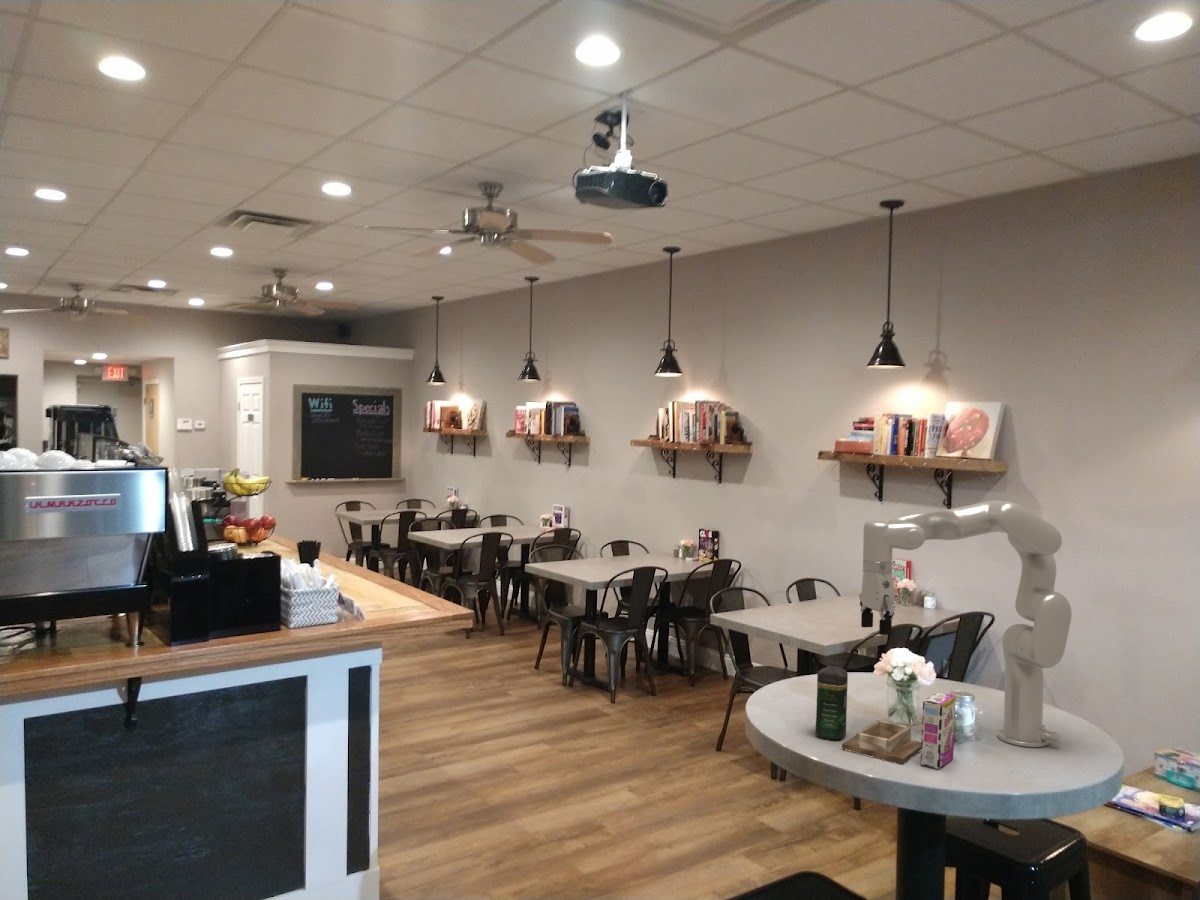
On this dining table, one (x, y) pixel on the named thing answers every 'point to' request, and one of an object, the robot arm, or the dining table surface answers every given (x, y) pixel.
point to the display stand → (884, 742)
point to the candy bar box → (938, 730)
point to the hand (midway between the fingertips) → (875, 630)
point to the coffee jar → (831, 702)
